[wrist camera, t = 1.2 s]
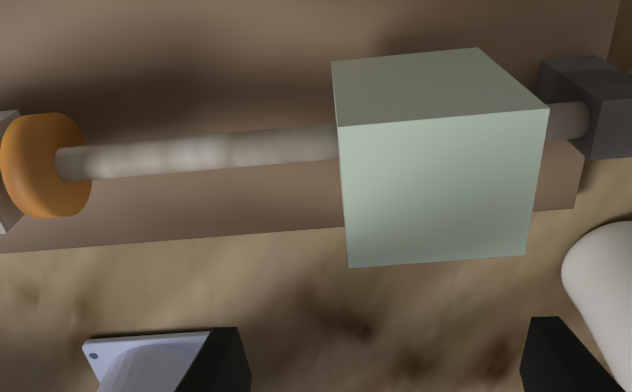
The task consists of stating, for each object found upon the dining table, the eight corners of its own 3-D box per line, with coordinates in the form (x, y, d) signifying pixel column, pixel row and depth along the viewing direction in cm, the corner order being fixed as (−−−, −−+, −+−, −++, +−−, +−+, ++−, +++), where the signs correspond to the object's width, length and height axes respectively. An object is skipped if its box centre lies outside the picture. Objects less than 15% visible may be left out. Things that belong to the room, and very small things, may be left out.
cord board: (563, 197, 22) (642, 288, 17) (-4, 242, 24) (-98, 340, 18) (625, -101, 16) (782, -107, 11) (-149, -16, 17) (-356, 17, 12)
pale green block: (468, 161, 18) (524, 255, 13) (339, 172, 19) (348, 268, 14) (477, 47, 16) (550, 107, 11) (331, 61, 16) (338, 127, 11)
